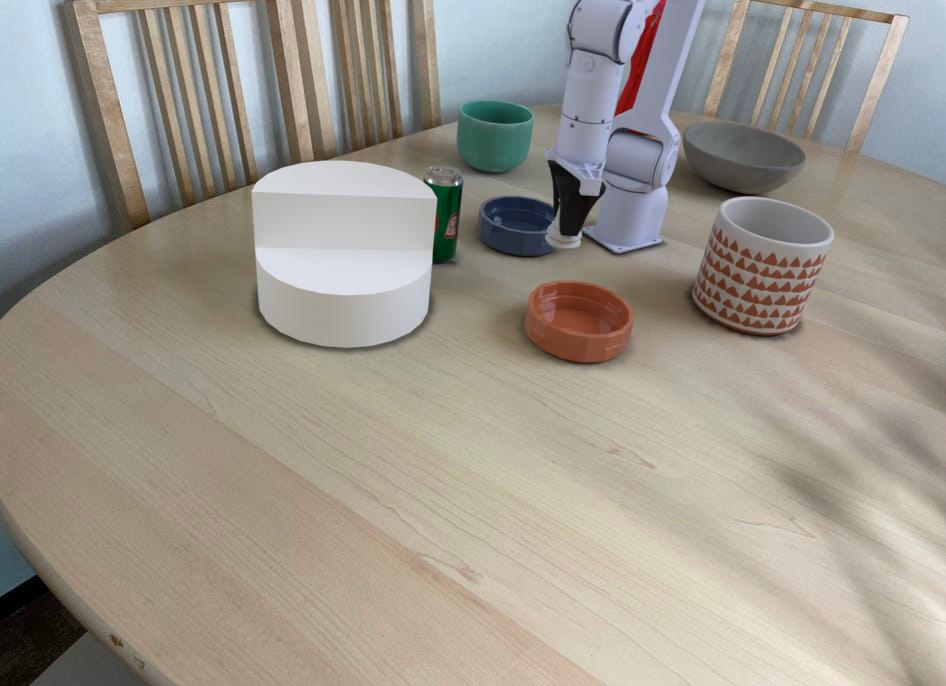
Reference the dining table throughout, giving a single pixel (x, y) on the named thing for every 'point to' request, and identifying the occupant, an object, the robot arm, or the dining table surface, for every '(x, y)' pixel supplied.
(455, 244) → the soda can
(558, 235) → the rook chess piece
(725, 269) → the planter
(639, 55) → the water bottle
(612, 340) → the terracotta bowl
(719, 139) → the bowl
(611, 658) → the dining table surface
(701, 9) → the robot arm
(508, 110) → the mug
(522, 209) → the slate bowl
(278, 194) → the stepped white cylinder
